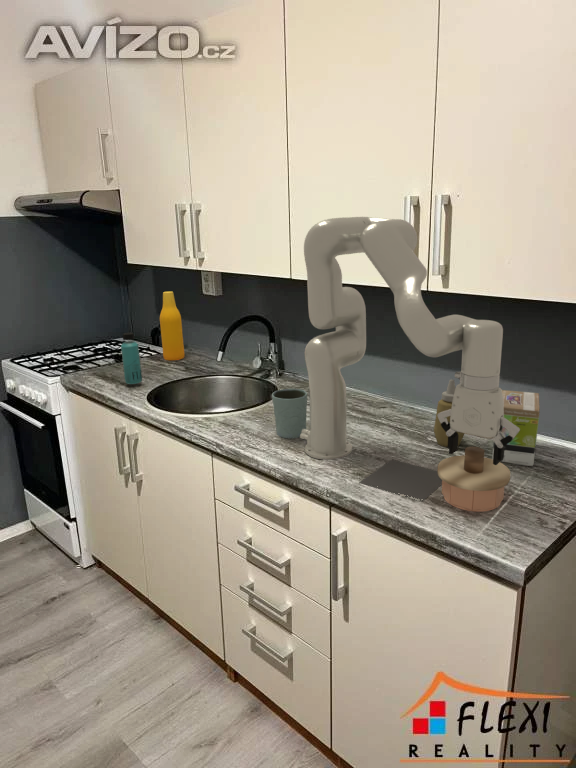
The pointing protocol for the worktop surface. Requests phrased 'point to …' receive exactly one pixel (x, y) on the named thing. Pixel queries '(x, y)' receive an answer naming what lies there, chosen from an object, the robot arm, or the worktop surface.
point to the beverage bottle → (131, 360)
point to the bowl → (472, 498)
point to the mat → (404, 479)
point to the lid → (473, 471)
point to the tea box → (521, 426)
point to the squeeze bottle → (443, 406)
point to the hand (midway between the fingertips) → (474, 457)
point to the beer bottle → (171, 329)
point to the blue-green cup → (290, 412)
